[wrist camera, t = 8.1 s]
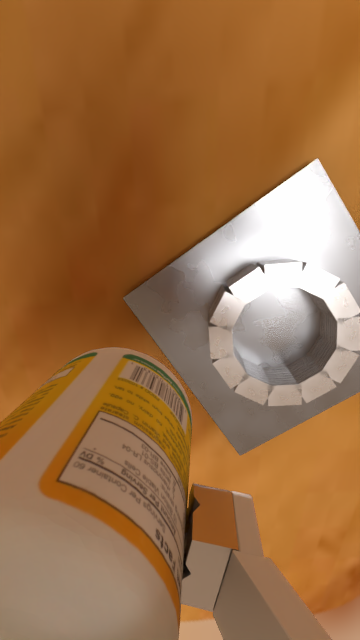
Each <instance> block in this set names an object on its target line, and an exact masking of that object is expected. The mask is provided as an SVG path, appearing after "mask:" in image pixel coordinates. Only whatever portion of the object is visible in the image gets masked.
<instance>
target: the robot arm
mask: <svg viewBox="0 0 360 640" xmlns="http://www.w3.org/2000/svg"><path fill="white" fill-rule="evenodd" d="M181 604H184V605H188V606H192V607H196V608H200V609H204V610H208V611H211V612H213V616H214V618H215V621H216V623H217V625H218V628H219V630H220V632H221V635H222V637H223V640H332V639H331V638H330V636H329V635H328V634H327V632H326V631H325V630H324V628H323V627H322V626H321V624H320V623H319V622H318V621H317V619H316V618H315V617H314V615H313V614H312V613H311V611H310V610H309V609H308V607H307V606H306V605H305V603H304V602H303V601H302V599H301V598H300V597H299V595H298V594H297V593H296V591H295V590H294V589H293V588H292V586H291V585H290V584H289V582H288V581H287V580H286V578H285V577H284V576H283V574H282V573H281V572H280V570H279V569H278V568H277V566H276V565H275V564H274V562H273V561H272V560H271V559H270V558H267V557H264V554H263V549H262V544H261V539H260V534H259V529H258V524H257V519H256V514H255V508H254V503H253V498H252V497H251V495H250V494H244V493H239V492H234V491H231V492H230V491H228V490H223V489H218V488H213V487H208V486H203V485H199V484H194V483H193V485H192V487H191V491H190V495H189V507H188V508H187V513H186V526H185V540H184V558H183V576H182V592H181Z"/></svg>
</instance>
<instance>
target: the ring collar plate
mask: <svg viewBox="0 0 360 640" xmlns="http://www.w3.org/2000/svg"><path fill="white" fill-rule="evenodd" d="M123 299H124V301H125V302H126V303H127V305H128V306H129V307H130V309H131V310H132V311H133V313H134V314H135V315H136V317H137V318H138V320H139V321H140V322H141V324H142V325H143V326H144V328H145V329H146V330H147V332H148V333H149V334H150V336H151V337H152V338H153V340H154V341H155V342H156V344H157V345H158V346H159V348H160V349H161V350H162V352H163V353H164V354H165V356H166V357H167V358H168V360H169V361H170V362H171V364H172V365H173V366H174V368H175V369H176V370H177V372H178V373H179V374H180V376H181V377H182V378H183V380H184V381H185V383H186V384H187V385H188V387H189V388H190V389H191V391H192V392H193V393H194V395H195V396H196V397H197V399H198V400H199V401H200V403H201V404H202V405H203V407H204V408H205V409H206V411H207V412H208V413H209V415H210V416H211V417H212V419H213V420H214V421H215V423H216V424H217V425H218V427H219V428H220V429H221V431H222V432H223V433H224V435H225V436H226V437H227V439H228V440H229V442H230V443H231V444H232V446H233V447H234V448H235V450H236V451H237V452H238V454H239V455H242V454H244V453H246V452H248V451H250V450H252V449H254V448H255V447H257V446H259V445H261V444H263V443H265V442H267V441H269V440H270V439H272V438H274V437H276V436H278V435H280V434H282V433H284V432H285V431H287V430H289V429H291V428H293V427H295V426H297V425H298V424H300V423H302V422H304V421H306V420H308V419H310V418H312V417H313V416H315V415H317V414H319V413H321V412H323V411H325V410H327V409H328V408H330V407H332V406H334V405H336V404H338V403H340V402H342V401H343V400H345V399H347V398H349V397H351V396H353V395H355V394H356V393H358V392H360V232H359V230H358V228H357V226H356V225H355V223H354V221H353V219H352V218H351V216H350V214H349V212H348V211H347V209H346V207H345V205H344V204H343V202H342V200H341V198H340V197H339V195H338V193H337V191H336V189H335V188H334V186H333V184H332V182H331V181H330V179H329V177H328V175H327V174H326V172H325V170H324V168H323V167H322V165H321V163H320V161H319V160H318V158H317V159H316V160H314V161H313V162H312V163H310V164H309V165H307V166H306V167H305V168H303V169H302V170H300V171H299V172H298V173H296V174H295V175H293V176H292V177H291V178H289V179H288V180H286V181H285V182H284V183H282V184H281V185H279V186H278V187H277V188H275V189H274V190H273V191H271V192H270V193H268V194H267V195H266V196H264V197H263V198H261V199H260V200H259V201H257V202H256V203H254V204H253V205H252V206H250V207H249V208H247V209H246V210H245V211H243V212H242V213H240V214H239V215H238V216H236V217H235V218H234V219H232V220H231V221H229V222H228V223H227V224H225V225H224V226H222V227H221V228H220V229H218V230H217V231H215V232H214V233H213V234H211V235H210V236H208V237H207V238H206V239H204V240H203V241H202V242H200V243H199V244H197V245H196V246H195V247H193V248H192V249H190V250H189V251H188V252H186V253H185V254H183V255H182V256H181V257H179V258H178V259H176V260H175V261H174V262H172V263H171V264H169V265H168V266H167V267H165V268H164V269H163V270H161V271H160V272H158V273H157V274H156V275H154V276H153V277H151V278H150V279H149V280H147V281H146V282H144V283H143V284H142V285H140V286H139V287H137V288H136V289H135V290H133V291H132V292H130V293H129V294H128V295H126V296H125V297H124V298H123Z"/></svg>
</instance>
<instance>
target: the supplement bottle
mask: <svg viewBox="0 0 360 640" xmlns="http://www.w3.org/2000/svg"><path fill="white" fill-rule="evenodd" d="M191 434H192V414H191V407H190V404H189V400H188V397H187V395H186V393H185V391H184V388H183V387H182V385H181V384H180V382H179V380H178V379H177V378H176V377H175V375H174V374H173V373H172V372H171V371H170V370H169V369H168V368H167V367H166V366H164V365H163V364H162V363H160V362H159V361H157V360H156V359H154V358H152V357H151V356H149V355H147V354H144V353H141V352H139V351H135V350H131V349H127V348H118V347H109V348H101V349H95V350H91V351H88V352H85V353H83V354H81V355H79V356H78V357H76V358H74V359H72V360H71V361H70V362H68V363H67V364H66V365H64V366H63V367H62V368H61V369H60V370H59V371H57V372H56V373H55V374H54V375H53V376H52V377H51V378H50V379H49V380H48V381H47V382H45V383H44V384H43V385H42V386H41V387H40V388H39V389H37V390H36V391H35V392H34V393H33V394H32V395H31V396H30V397H29V398H28V399H27V400H26V401H24V402H23V403H22V404H21V405H20V406H19V407H18V408H17V409H15V410H14V411H13V412H12V413H11V414H10V415H9V416H8V417H6V418H5V419H4V420H3V421H2V422H1V423H0V640H178V638H179V626H180V613H181V592H182V576H183V558H184V540H185V526H186V513H187V499H188V482H189V466H190V448H191Z"/></svg>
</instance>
